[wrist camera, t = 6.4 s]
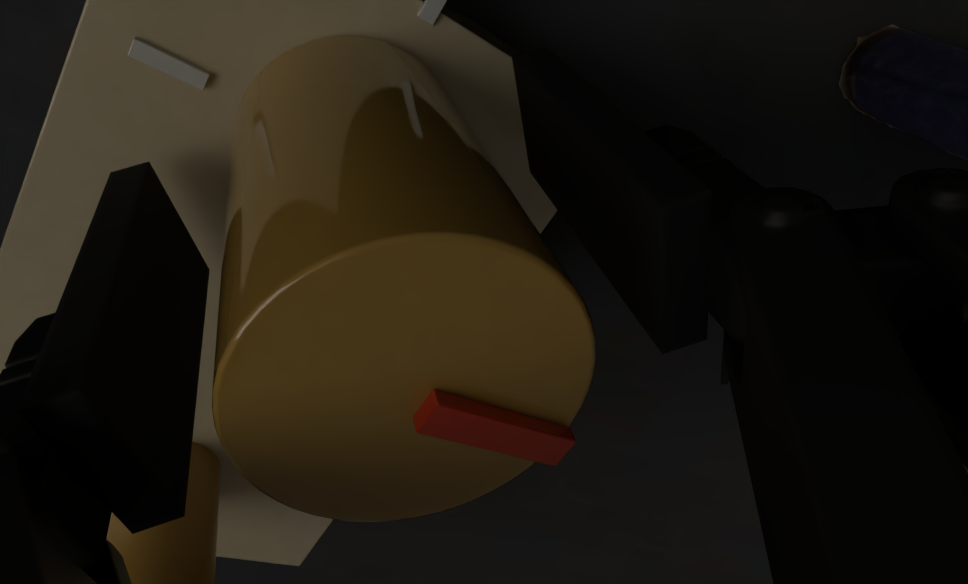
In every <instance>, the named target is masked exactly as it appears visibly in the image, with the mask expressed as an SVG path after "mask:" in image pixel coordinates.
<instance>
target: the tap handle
mask: <svg viewBox="0 0 968 584" xmlns="http://www.w3.org/2000/svg"><path fill="white" fill-rule="evenodd" d="M594 364H595V334H594V330H593V325H592V321H591V317H590V315H589V312H588V310H587V307H586V305H585V303H584V301H583V299H582V298H581V296H580V295H579V293H578V291H577V290H576V288H575V287H574V285H573V284H572V282H571V281H570V279H569V278H568V276H567V274H566V273H565V271H564V270H563V268H562V267H561V265H560V264H559V262H558V261H557V259H556V257H555V256H554V254H553V253H552V251H551V250H550V248H549V247H548V245H547V244H546V242H545V241H544V239H543V237H542V236H541V234H540V233H539V231H538V230H537V228H536V227H535V225H534V224H533V222H532V220H531V219H530V217H529V216H528V214H527V213H526V211H525V210H524V208H523V207H522V205H521V204H520V202H519V200H518V199H517V197H516V196H515V194H514V193H513V191H512V190H511V188H510V187H509V185H508V183H507V182H506V180H505V179H504V177H503V176H502V174H501V173H500V171H499V170H498V168H497V167H496V165H495V163H494V162H493V160H492V159H491V157H490V156H489V154H488V153H487V151H486V150H485V148H484V146H483V145H482V143H481V142H480V140H479V139H478V137H477V136H476V134H475V133H474V131H473V130H472V128H471V126H470V125H469V123H468V122H467V120H466V119H465V117H464V116H463V114H462V113H461V111H460V109H459V108H458V106H457V105H456V103H455V102H454V100H453V99H452V97H451V96H450V94H449V93H448V91H447V89H446V88H445V86H444V85H443V83H442V82H441V80H440V79H439V78H438V77H437V76H436V75H435V73H434V72H433V71H432V70H431V69H430V68H429V67H428V66H426V65H425V64H424V63H423V62H422V61H421V60H419V59H418V58H416V57H415V56H413V55H412V54H410V53H409V52H407V51H406V50H403V49H401V48H399V47H397V46H395V45H393V44H390V43H387V42H384V41H381V40H378V39H374V38H368V37H363V36H348V35H343V36H330V37H325V38H320V39H315V40H311V41H309V42H306V43H303V44H300V45H298V46H296V47H294V48H292V49H290V50H288V51H286V52H284V53H282V54H281V55H280V56H278V57H277V58H275V59H274V60H273V61H271V62H270V63H269V64H268V65H267V66H266V67H265V68H264V69H263V70H262V71H261V72H260V73H259V74H258V75H257V76H256V77H255V78H254V80H253V81H252V82H251V84H250V85H249V86H248V88H247V90H246V92H245V93H244V95H243V97H242V99H241V101H240V104H239V106H238V109H237V112H236V115H235V119H234V124H233V129H232V141H231V154H230V167H229V180H228V193H227V206H226V219H225V232H224V245H223V258H222V271H221V284H220V297H219V310H218V323H217V336H216V349H215V362H214V374H213V388H212V413H213V419H214V426H215V429H216V432H217V435H218V437H219V440H220V443H221V445H222V447H223V449H224V450H225V452H226V454H227V455H228V457H229V459H230V461H231V462H232V464H233V465H234V466H235V467H236V469H237V470H238V471H239V472H240V473H241V474H242V476H243V477H244V478H245V479H246V480H248V481H249V482H250V483H251V484H252V485H253V486H255V487H256V488H257V489H258V490H259V491H261V492H263V493H264V494H266V495H267V496H269V497H271V498H272V499H274V500H275V501H278V502H280V503H282V504H284V505H286V506H289V507H291V508H293V509H296V510H299V511H302V512H305V513H308V514H311V515H315V516H320V517H325V518H330V519H335V520H345V521H354V522H381V521H396V520H403V519H410V518H416V517H421V516H425V515H430V514H434V513H438V512H442V511H445V510H448V509H451V508H454V507H457V506H460V505H463V504H465V503H468V502H470V501H473V500H475V499H477V498H480V497H482V496H484V495H486V494H488V493H490V492H492V491H494V490H496V489H498V488H499V487H501V486H503V485H504V484H506V483H508V482H509V481H511V480H513V479H514V478H516V477H517V476H519V475H520V474H521V473H523V472H524V471H525V470H527V469H528V468H529V467H531V466H532V465H533V464H534V463H536V462H539V463H543V464H547V465H552V466H556V465H557V464H558V463H559V462H560V461H561V459H562V458H563V457H564V456H565V455H566V454H567V453H568V451H569V450H570V449H571V448H572V447H573V446H574V444H575V443H576V439H575V437H574V435H573V433H572V431H571V429H570V428H569V426H570V425H571V424H572V422H573V420H574V419H575V417H576V415H577V414H578V412H579V410H580V409H581V407H582V404H583V402H584V400H585V398H586V395H587V393H588V391H589V387H590V384H591V380H592V377H593V372H594Z"/></svg>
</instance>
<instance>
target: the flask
mask: <svg viewBox="0 0 968 584" xmlns="http://www.w3.org/2000/svg"><path fill="white" fill-rule="evenodd" d="M839 87H840V88H841V91H842V93H843V96H844V99H848V100H849V101H850V103H851V104H852V106H853V107H854V108H855V109H857V110H858V111H859V112H861V111H862V113H863V114H866V115H868V116H870V117H872V118H874V120H876V121H877V122H878V123H881V124H884V123H885V124H887V125H888V126H889V127H890V128H892V127H894V128H895V129H897V130H898V131H901V130H903V131H906V132H909V133H910V134H912V135H915V136H918V137H920V138H922V139H924V140H925V141H927V142H929V143H930V144H932V145H933V146H936V147H939V148H940V149H942V150H944V151H945V152H947V153H950V154H952V155H955V156H957V157H960V158H962V159H964V160H967V161H968V51H966V50H964V49H961V48H958V47H955V46H953V45H950V44H947V43H944V42H940V41H936V40H934V39H932V38H930V37H927V36H925V35H922V34H919V33H913V32H912V31H910V30H905V29H901V28H899V27H897V26H896V25H889V26H888V27H883V28H881V29H879V30H878V31H874V32H872V33H871V34H869V35H868V36H866V37H858V40H857V45H856V47H855V48H854V49H853V51H852V52H851V53H850V54H849V56H848V58H847V60H846V61H845V63H844V64H843V66H842V72H841V77H840V81H839Z"/></svg>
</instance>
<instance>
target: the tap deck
mask: <svg viewBox="0 0 968 584" xmlns="http://www.w3.org/2000/svg"><path fill="white" fill-rule="evenodd" d="M446 1H447V0H86V2H85V5H84V7H83V10H82V13H81V16H80V19H79V22H78V25H77V28H76V31H75V34H74V36H73V39H72V42H71V45H70V48H69V51H68V54H67V57H66V60H65V62H64V65H63V68H62V71H61V74H60V77H59V80H58V83H57V86H56V88H55V91H54V94H53V97H52V100H51V103H50V106H49V109H48V112H47V114H46V117H45V120H44V123H43V126H42V129H41V132H40V135H39V138H38V140H37V143H36V146H35V149H34V152H33V155H32V158H31V161H30V164H29V166H28V169H27V172H26V175H25V178H24V181H23V184H22V187H21V190H20V193H19V195H18V198H17V201H16V204H15V207H14V210H13V213H12V216H11V219H10V221H9V224H8V227H7V230H6V233H5V236H4V239H3V242H2V245H1V247H0V374H1V372H2V369H6V367H5V363H6V361H7V358H8V356H9V354H10V352H11V349H12V347H13V345H14V343H15V341H16V340H17V339H18V338H19V337H20V336H21V335H22V334H23V332H24V331H25V330H26V329H27V328H28V327H29V326H30V325H31V324H32V323H33V321H34V320H35V319H36V318H39V317H42V316H46V315H49V314H52V313H55V312H56V310H57V307H58V305H59V302H60V299H61V297H62V294H63V292H64V289H65V287H66V284H67V282H68V279H69V277H70V274H71V272H72V269H73V266H74V264H75V261H76V259H77V256H78V254H79V251H80V249H81V246H82V244H83V241H84V239H85V236H86V233H87V231H88V228H89V226H90V223H91V221H92V218H93V216H94V213H95V211H96V208H97V205H98V203H99V200H100V198H101V195H102V193H103V190H104V188H105V185H106V183H107V180H108V178H109V175H110V172H114V171H117V170H121V169H124V168H128V167H131V166H135V165H138V164H142V163H145V162H150V164H151V166H152V167H153V169H154V171H155V173H156V175H157V176H158V178H159V180H160V182H161V183H162V185H163V187H164V189H165V191H166V192H167V194H168V196H169V198H170V200H171V201H172V203H173V205H174V207H175V209H176V210H177V212H178V214H179V216H180V218H181V219H182V221H183V223H184V225H185V227H186V228H187V230H188V232H189V234H190V235H191V237H192V239H193V241H194V243H195V244H196V246H197V248H198V250H199V252H200V253H201V255H202V257H203V259H204V261H205V262H206V264H207V266H208V268H209V270H210V272H209V282H208V291H207V301H206V311H205V321H204V331H203V341H202V350H201V360H200V370H199V380H198V390H197V399H196V409H195V419H194V429H193V439H192V442H195V443H198V444H201V445H203V446H205V447H207V448H208V449H210V450H211V451H212V452H213V453H214V454H215V455H216V456H217V458H218V459H219V462H220V465H221V475H220V493H219V511H218V529H217V547H216V556H218V557H226V558H234V559H242V560H251V561H259V562H267V563H276V564H284V565H292V566H300V565H301V563H302V562H303V560H304V559H305V558H306V556H307V555H308V553H309V552H310V551H311V549H312V548H313V547H314V545H315V544H316V542H317V541H318V540H319V538H320V537H321V536H322V534H323V533H324V531H325V530H326V529H327V527H328V526H329V525H330V523H331V522H332V520H333V519H330V518H325V517H320V516H315V515H311V514H308V513H305V512H302V511H299V510H296V509H293V508H291V507H289V506H286V505H284V504H282V503H280V502H278V501H275V500H274V499H272V498H271V497H269V496H267V495H266V494H264V493H263V492H261V491H259V490H258V489H257V488H256V487H255V486H253V485H252V484H251V483H250V482H249V481H248V480H246V479H245V478H244V477H243V476H242V474H241V473H240V472H239V471H238V470H237V469H236V467H235V466H234V465H233V464H232V462H231V461H230V459H229V457H228V455H227V454H226V452H225V450H224V449H223V447H222V445H221V443H220V440H219V437H218V435H217V432H216V429H215V426H214V419H213V413H212V388H213V374H214V362H215V349H216V336H217V323H218V310H219V297H220V284H221V271H222V258H223V245H224V232H225V219H226V206H227V193H228V180H229V167H230V154H231V141H232V129H233V124H234V119H235V115H236V112H237V109H238V106H239V104H240V101H241V99H242V97H243V95H244V93H245V92H246V90H247V88H248V86H249V85H250V84H251V82H252V81H253V80H254V78H255V77H256V76H257V75H258V74H259V73H260V72H261V71H262V70H263V69H264V68H265V67H266V66H267V65H268V64H269V63H270V62H271V61H273V60H274V59H275V58H277V57H278V56H280V55H281V54H282V53H284V52H286V51H288V50H290V49H292V48H294V47H296V46H298V45H300V44H303V43H306V42H309V41H311V40H315V39H320V38H325V37H330V36H343V35H348V36H363V37H368V38H374V39H378V40H381V41H384V42H387V43H390V44H393V45H395V46H397V47H399V48H401V49H403V50H406V51H407V52H409V53H410V54H412V55H413V56H415V57H416V58H418V59H419V60H421V61H422V62H423V63H424V64H425V65H426V66H428V67H429V68H430V69H431V70H432V71H433V72H434V73H435V75H436V76H437V77H438V78H439V79H440V80H441V82H442V83H443V85H444V86H445V88H446V89H447V91H448V93H449V94H450V96H451V97H452V99H453V100H454V102H455V103H456V105H457V106H458V108H459V109H460V111H461V113H462V114H463V116H464V117H465V119H466V120H467V122H468V123H469V125H470V126H471V128H472V130H473V131H474V133H475V134H476V136H477V137H478V139H479V140H480V142H481V143H482V145H483V146H484V148H485V150H486V151H487V153H488V154H489V156H490V157H491V159H492V160H493V162H494V163H495V165H496V167H497V168H498V170H499V171H500V173H501V174H502V176H503V177H504V179H505V180H506V182H507V183H508V185H509V187H510V188H511V190H512V191H513V193H514V194H515V196H516V197H517V199H518V200H519V202H520V204H521V205H522V207H523V208H524V210H525V211H526V213H527V214H528V216H529V217H530V219H531V220H532V222H533V224H534V225H535V227H536V228H537V230H538V231H539V233H540V234H541V232H542V231H543V230H544V228H545V227H546V226H547V224H548V223H549V221H550V220H551V219H552V217H553V216H554V214H555V213H556V212H557V209H556V207H555V206H554V205H553V203H552V202H551V200H550V199H549V198H548V196H547V195H546V194H545V192H544V191H543V189H542V188H541V187H540V185H539V184H538V183H537V181H536V180H535V178H534V177H533V176H532V174H531V173H530V169H529V163H528V157H527V150H526V144H525V138H524V131H523V125H522V119H521V112H520V106H519V100H518V94H517V87H516V81H515V75H514V68H513V62H512V57H515V56H519V55H522V53H520V52H519V51H517V50H516V49H514V48H513V47H511V46H509V45H508V44H506V43H505V42H503V41H502V40H500V39H499V38H497V37H496V36H494V35H493V34H491V33H489V32H488V31H486V30H485V29H483V28H482V27H480V26H479V25H477V24H476V23H474V22H473V21H471V20H469V19H468V18H466V17H465V16H463V15H462V14H460V13H459V12H457V11H456V10H454V9H453V8H451V7H450V6H448V5H446V4H445V3H446ZM111 515H112V513H111ZM110 520H111V518H110ZM109 524H110V523H109ZM108 529H109V528H108ZM107 534H108V533H107Z"/></svg>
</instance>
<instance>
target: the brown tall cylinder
mask: <svg viewBox="0 0 968 584" xmlns="http://www.w3.org/2000/svg"><path fill="white" fill-rule="evenodd" d="M220 475H221V465H220V462H219V459H218V458H217V456H216V455H215V454H214V453H213V452H212V451H211V450H210V449H208V448H207V447H205V446H203V445H201V444H198V443H195V442H192V449H191V458H190V468H189V478H188V488H187V498H186V508H185V516H184V517H181V518H178V519H176V520H173V521H170V522H167V523H164V524H161V525H158V526H155V527H152V528H149V529H146V530H143V531H140V532H137V533H134V534H132V533H131V532H130V531H129V530H128V529H127V528H126V526H125V525H124V524H123V523H122V522H121V521H120V520H119V519H118V518H117V517H116V516H115V515H114V514H113V513H112V515H111V520H110V524H109V529H108V534H107V539H108V540H109V541H110V542H111V543H112V544H113V545H114V546H115V547H116V549H117V550H118V551H119V552H120V554H121V555H122V556H123V559H124V562H125V565H126V568H127V571H128V574H129V577H130V580H131V583H132V584H214V583H215V565H216V547H217V529H218V511H219V493H220Z"/></svg>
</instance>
